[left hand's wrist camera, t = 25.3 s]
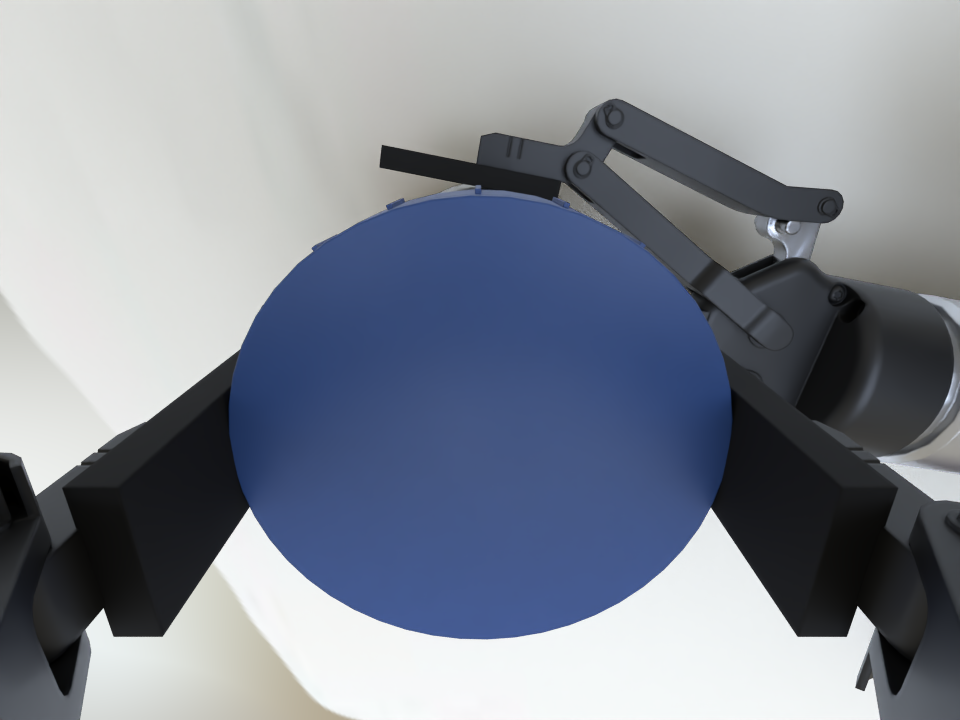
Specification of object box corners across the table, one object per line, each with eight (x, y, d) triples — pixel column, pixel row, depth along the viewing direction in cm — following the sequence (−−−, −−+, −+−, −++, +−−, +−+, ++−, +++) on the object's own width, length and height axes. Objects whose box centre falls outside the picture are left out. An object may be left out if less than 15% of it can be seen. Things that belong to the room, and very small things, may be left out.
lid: (695, 548, 13) (732, 612, 12) (332, 595, 14) (309, 664, 12) (688, 147, 10) (738, 143, 8) (205, 232, 11) (143, 248, 9)
